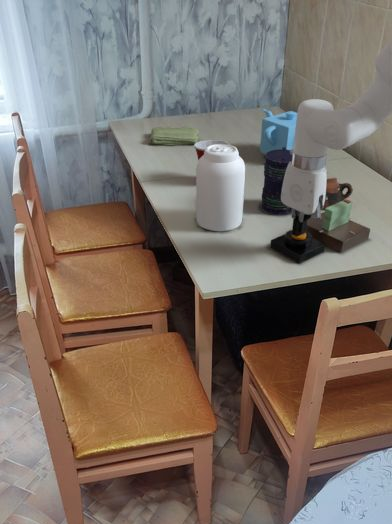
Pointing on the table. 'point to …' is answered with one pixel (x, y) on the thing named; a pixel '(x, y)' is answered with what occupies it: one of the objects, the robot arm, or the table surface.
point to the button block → (297, 247)
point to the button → (299, 236)
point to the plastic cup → (202, 146)
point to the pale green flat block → (337, 215)
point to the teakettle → (278, 131)
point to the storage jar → (275, 181)
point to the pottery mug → (336, 192)
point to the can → (220, 188)
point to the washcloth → (174, 135)
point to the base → (338, 234)
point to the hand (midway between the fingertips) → (298, 233)
